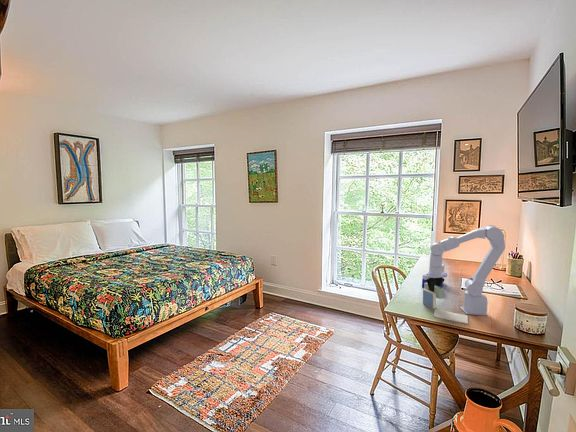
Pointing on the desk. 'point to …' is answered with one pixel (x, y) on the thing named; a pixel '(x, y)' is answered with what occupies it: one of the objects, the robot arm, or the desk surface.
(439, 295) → the block
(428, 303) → the tile
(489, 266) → the robot arm
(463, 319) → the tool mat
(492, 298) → the desk surface
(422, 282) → the cable clip
